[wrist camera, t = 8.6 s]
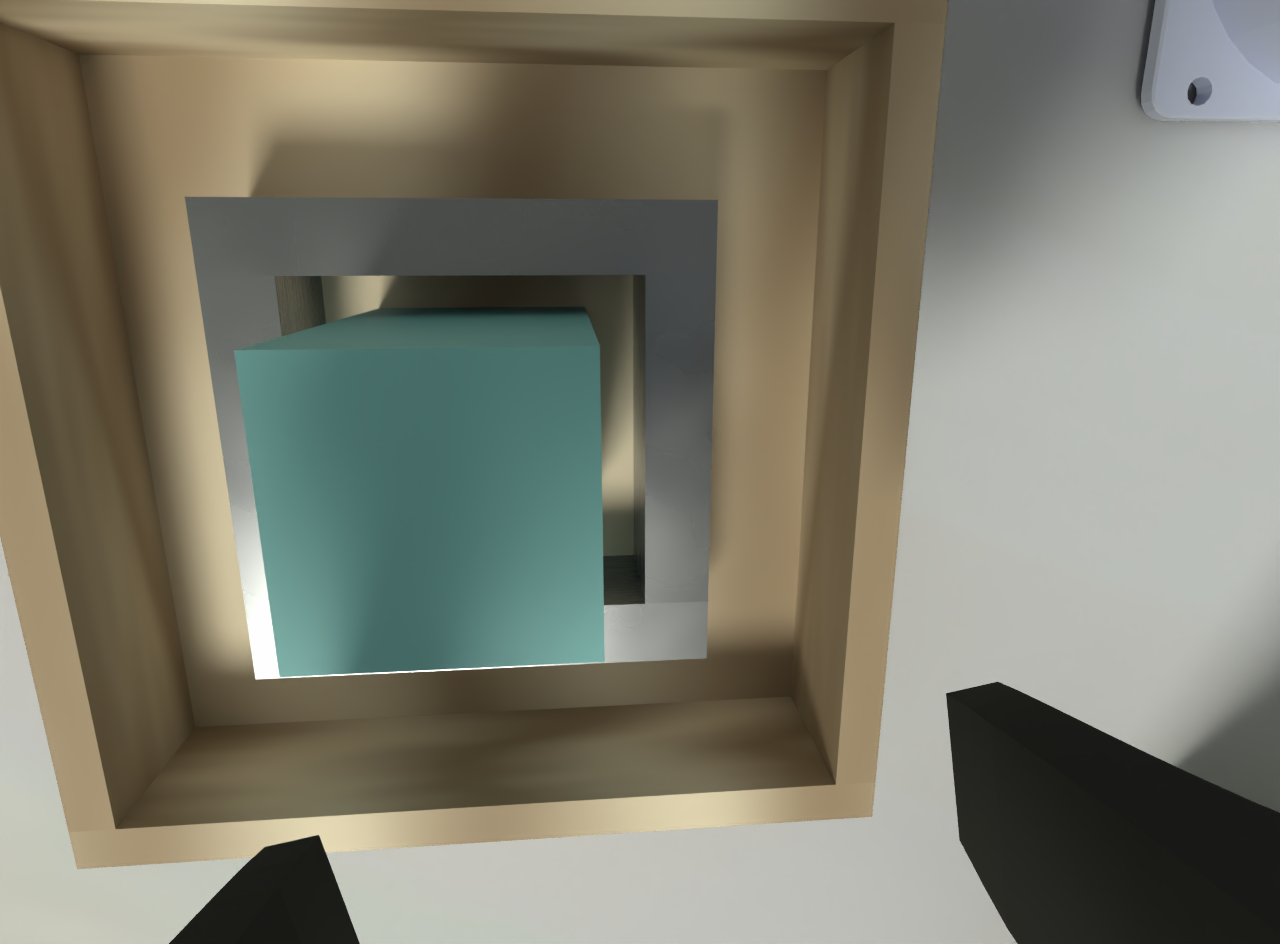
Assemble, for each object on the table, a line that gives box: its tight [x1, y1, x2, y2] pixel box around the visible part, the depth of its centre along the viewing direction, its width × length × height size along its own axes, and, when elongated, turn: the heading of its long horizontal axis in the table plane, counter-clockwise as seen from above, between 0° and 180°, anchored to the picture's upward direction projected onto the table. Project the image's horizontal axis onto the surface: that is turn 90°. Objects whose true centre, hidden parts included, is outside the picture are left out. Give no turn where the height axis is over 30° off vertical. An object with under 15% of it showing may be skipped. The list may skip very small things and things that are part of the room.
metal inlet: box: [185, 197, 718, 679], centre depth 15 cm, size 8×8×2 cm
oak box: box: [0, 0, 948, 869], centre depth 15 cm, size 15×15×4 cm
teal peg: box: [234, 307, 605, 677], centre depth 13 cm, size 4×4×7 cm
